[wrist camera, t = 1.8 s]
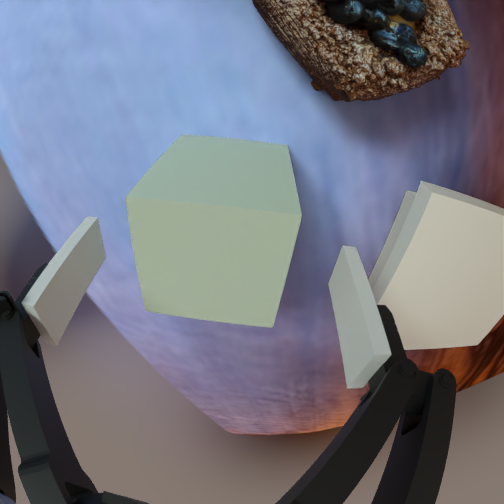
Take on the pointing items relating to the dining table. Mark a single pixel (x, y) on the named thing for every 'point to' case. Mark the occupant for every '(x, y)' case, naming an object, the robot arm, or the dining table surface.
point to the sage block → (215, 229)
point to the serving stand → (442, 269)
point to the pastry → (367, 43)
